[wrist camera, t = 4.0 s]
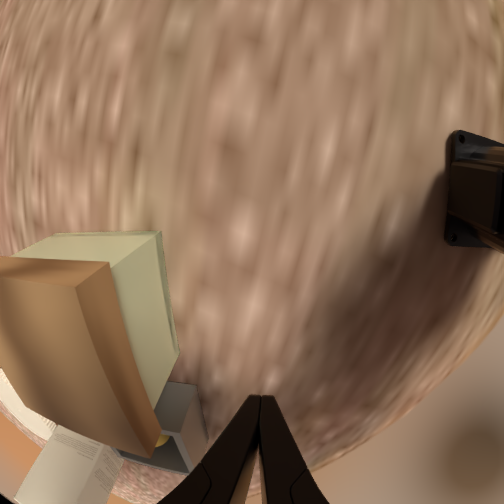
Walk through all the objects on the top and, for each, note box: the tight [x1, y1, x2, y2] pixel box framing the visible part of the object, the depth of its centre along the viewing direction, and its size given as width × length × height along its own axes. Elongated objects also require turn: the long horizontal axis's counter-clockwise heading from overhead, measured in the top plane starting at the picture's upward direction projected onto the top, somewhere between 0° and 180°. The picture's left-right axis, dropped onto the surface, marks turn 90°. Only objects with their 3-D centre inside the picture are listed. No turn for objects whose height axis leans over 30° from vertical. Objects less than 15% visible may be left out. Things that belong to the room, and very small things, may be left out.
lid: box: [0, 256, 162, 459], centre depth 9 cm, size 9×9×2 cm
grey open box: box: [110, 381, 209, 476], centre depth 18 cm, size 8×8×4 cm
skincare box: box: [14, 424, 124, 504], centre depth 18 cm, size 8×7×16 cm
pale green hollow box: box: [10, 231, 180, 410], centre depth 13 cm, size 8×8×6 cm
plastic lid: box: [0, 369, 57, 441], centre depth 24 cm, size 14×14×2 cm
